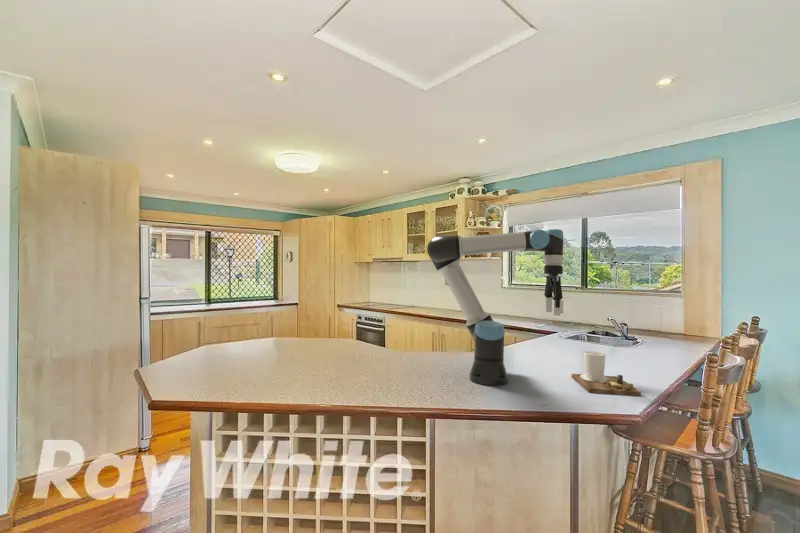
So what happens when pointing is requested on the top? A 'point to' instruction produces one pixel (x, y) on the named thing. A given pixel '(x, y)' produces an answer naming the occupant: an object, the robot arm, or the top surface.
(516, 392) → the top surface
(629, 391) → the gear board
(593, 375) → the white cup
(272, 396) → the top surface
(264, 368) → the top surface
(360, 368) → the top surface
